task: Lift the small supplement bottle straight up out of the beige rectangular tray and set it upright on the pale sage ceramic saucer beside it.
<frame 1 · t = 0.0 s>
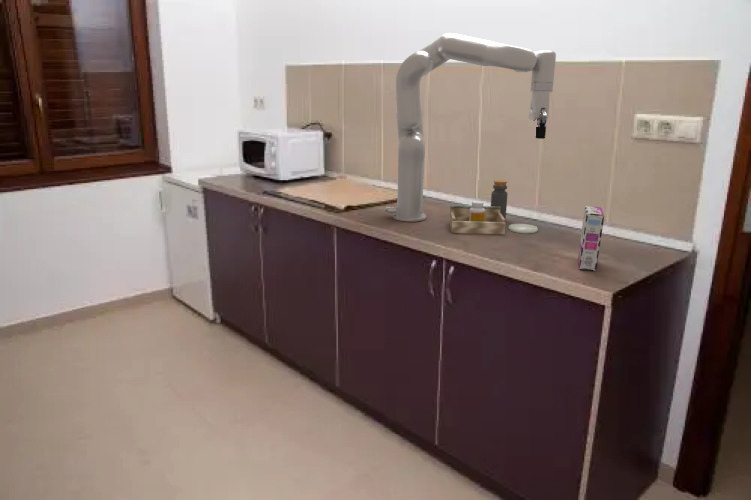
hand: (537, 136, 210), 31 cm above the worktop, fingers open, 9 cm apart
beige rectangular tray: (476, 228, 207), on the worktop
candy bar box: (587, 265, 169), on the worktop
bottle: (497, 220, 219), on the worktop
supplement bottle: (476, 229, 207), resting in beige rectangular tray
saucer: (522, 229, 206), on the worktop
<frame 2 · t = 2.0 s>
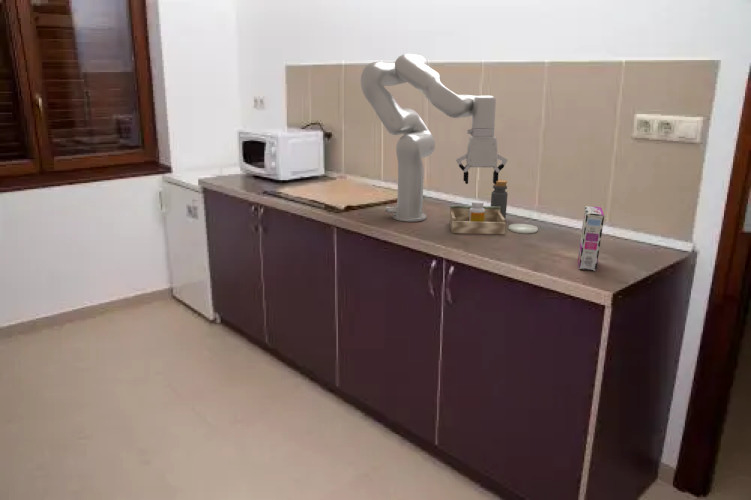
hand: (480, 183, 202), 16 cm above the worktop, fingers open, 9 cm apart
nothing on the worktop moved.
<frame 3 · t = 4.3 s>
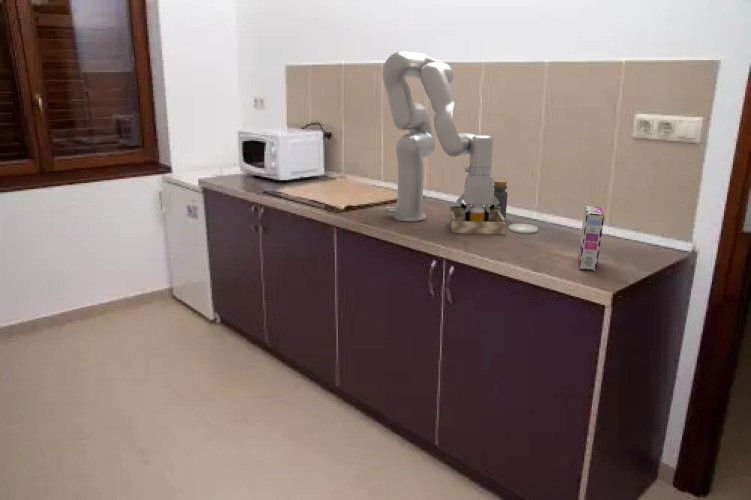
hand: (476, 221, 206), 3 cm above the worktop, fingers closed on supplement bottle, 5 cm apart
supplement bottle: (476, 229, 207), resting in beige rectangular tray, touching gripper
everything else where it was.
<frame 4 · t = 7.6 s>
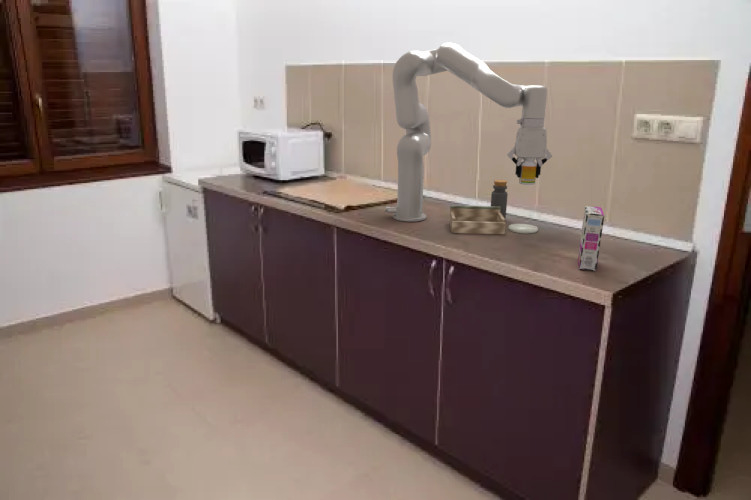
hand: (527, 176, 201), 19 cm above the worktop, fingers closed on supplement bottle, 5 cm apart
supplement bottle: (526, 184, 201), point 16 cm above the worktop, touching gripper
everything else where it was.
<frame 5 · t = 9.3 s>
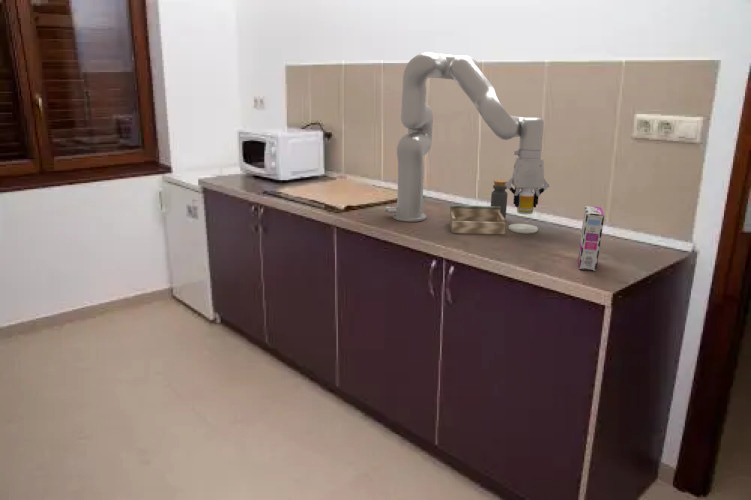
hand: (525, 206, 204), 9 cm above the worktop, fingers closed on supplement bottle, 5 cm apart
supplement bottle: (524, 213, 204), point 6 cm above the worktop, touching gripper
everything else where it was.
when the fingers open (5 cm above the worktop, at t = 10.9 s): supplement bottle drops 1 cm, resting on saucer.
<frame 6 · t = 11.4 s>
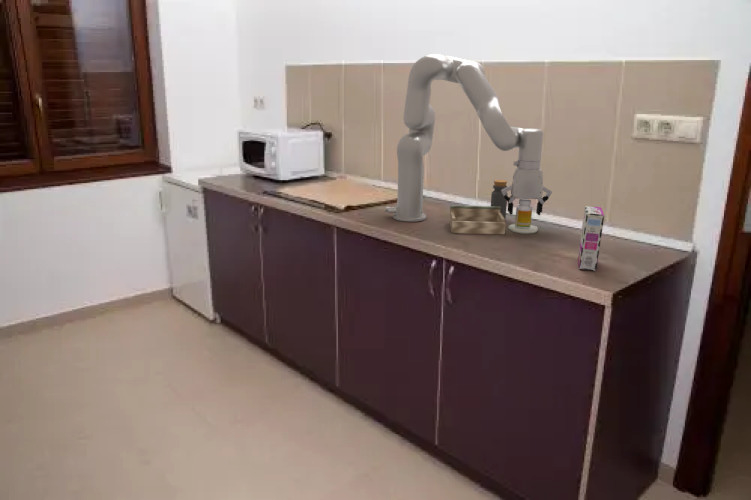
hand: (524, 214, 204), 6 cm above the worktop, fingers open, 9 cm apart
supplement bottle: (522, 227, 206), point 1 cm above the worktop, touching saucer
everything else where it was.
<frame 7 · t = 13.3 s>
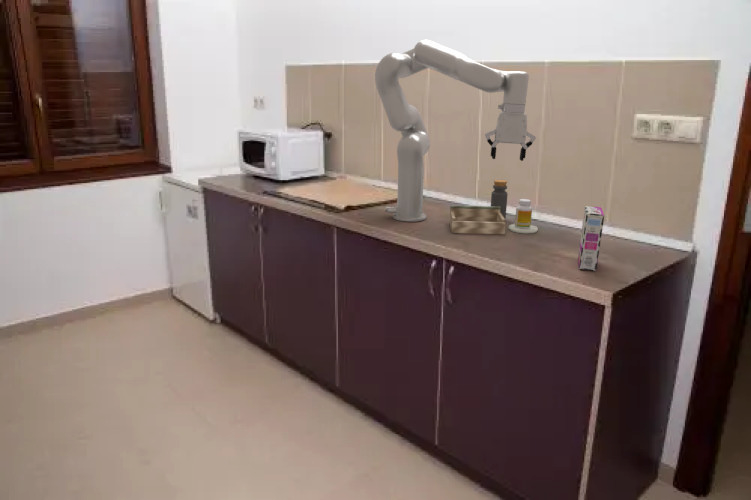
hand: (507, 159, 203), 24 cm above the worktop, fingers open, 9 cm apart
nothing on the worktop moved.
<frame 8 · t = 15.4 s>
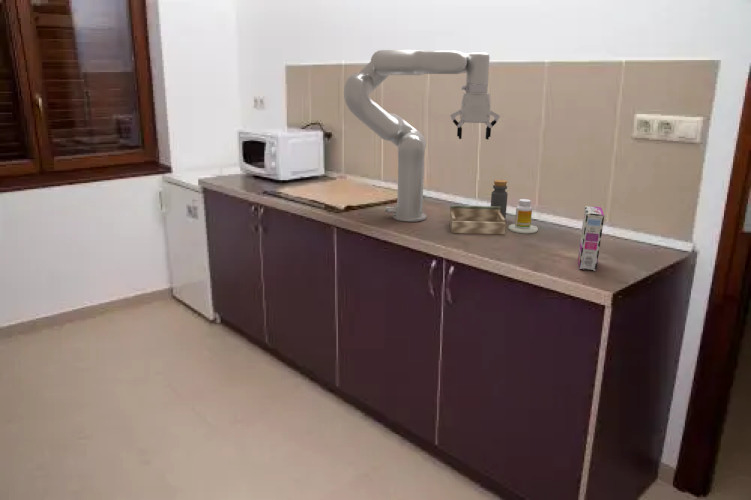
hand: (473, 138, 209), 30 cm above the worktop, fingers open, 9 cm apart
nothing on the worktop moved.
at the end: supplement bottle 0.3 cm off-centre on the saucer, point 0.8 cm above the saucer's base; supplement bottle tilted 1°; the gripper is holding nothing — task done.
